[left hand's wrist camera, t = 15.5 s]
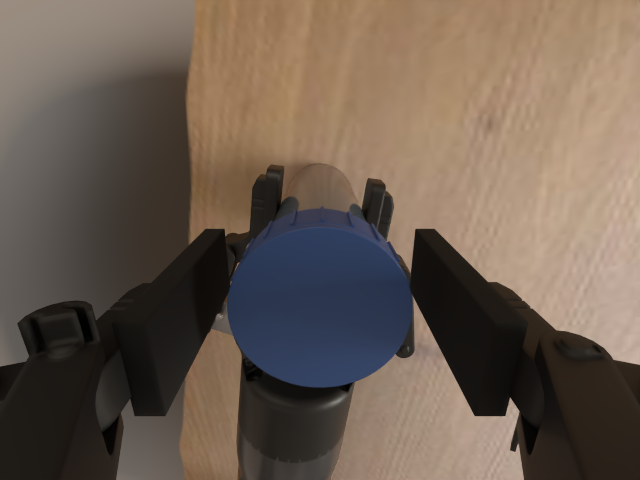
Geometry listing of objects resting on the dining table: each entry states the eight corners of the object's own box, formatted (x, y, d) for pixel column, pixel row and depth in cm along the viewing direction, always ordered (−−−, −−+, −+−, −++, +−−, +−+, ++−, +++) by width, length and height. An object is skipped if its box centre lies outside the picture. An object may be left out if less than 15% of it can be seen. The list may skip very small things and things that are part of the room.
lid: (285, 368, 13) (280, 411, 11) (209, 248, 12) (187, 274, 10) (421, 316, 13) (440, 352, 11) (362, 177, 11) (371, 190, 9)
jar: (296, 156, 24) (261, 215, 10) (360, 173, 24) (416, 254, 10) (281, 218, 26) (233, 347, 11) (341, 233, 26) (368, 376, 12)
